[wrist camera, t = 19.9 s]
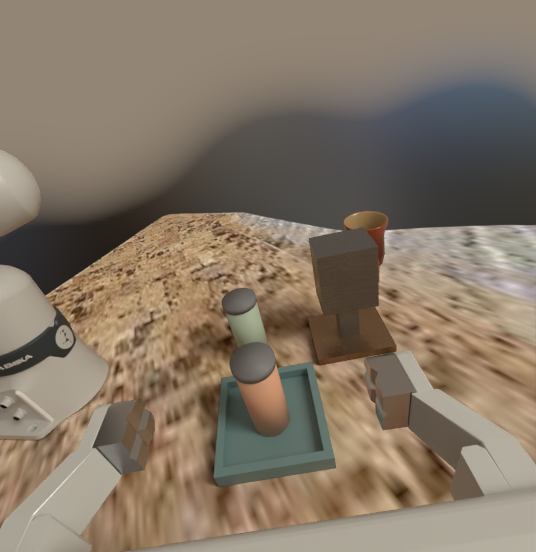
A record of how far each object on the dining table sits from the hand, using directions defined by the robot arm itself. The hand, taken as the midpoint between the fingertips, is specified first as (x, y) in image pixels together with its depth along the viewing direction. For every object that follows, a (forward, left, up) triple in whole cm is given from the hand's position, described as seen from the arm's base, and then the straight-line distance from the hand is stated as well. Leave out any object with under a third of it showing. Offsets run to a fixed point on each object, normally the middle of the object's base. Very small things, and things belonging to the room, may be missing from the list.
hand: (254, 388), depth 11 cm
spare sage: (-6, +31, -30) cm, 43 cm away
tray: (-4, +18, -30) cm, 35 cm away
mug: (+20, +53, -31) cm, 64 cm away
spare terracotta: (-4, +18, -29) cm, 34 cm away
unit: (+10, +31, -30) cm, 44 cm away
